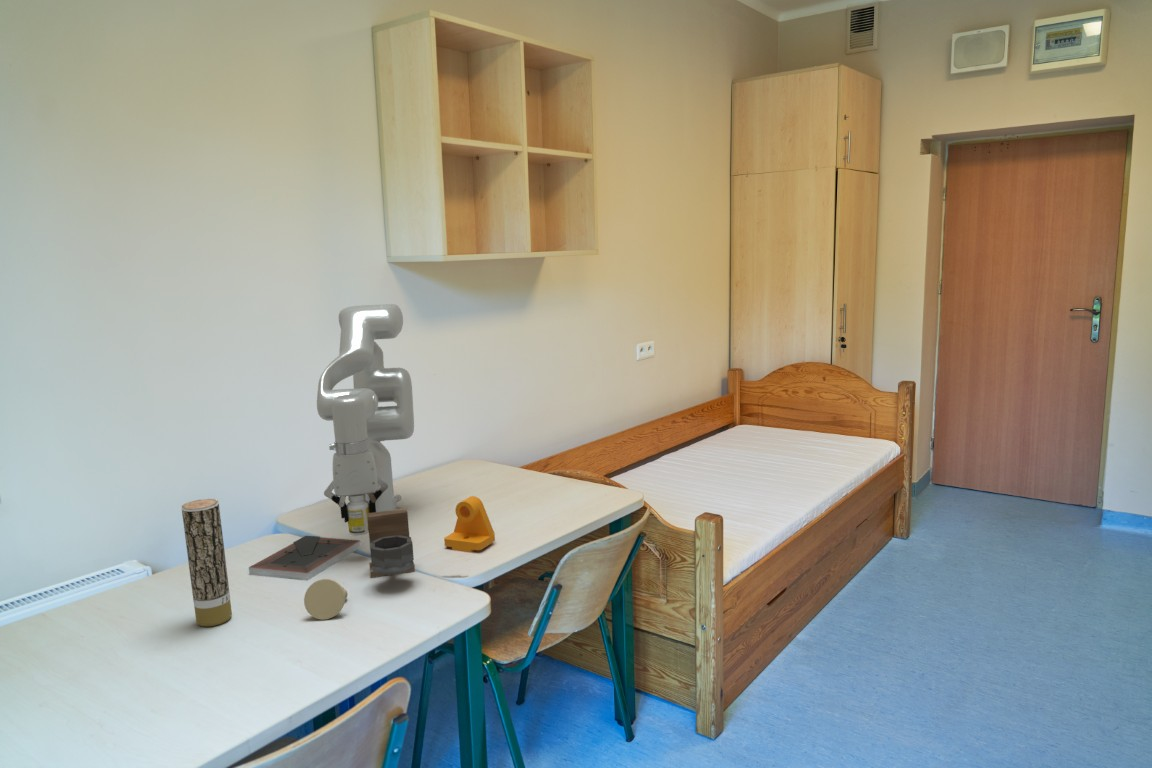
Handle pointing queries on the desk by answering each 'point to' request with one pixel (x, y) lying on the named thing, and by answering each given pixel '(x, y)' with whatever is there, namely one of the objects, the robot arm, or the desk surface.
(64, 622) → the desk surface
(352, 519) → the supplement bottle
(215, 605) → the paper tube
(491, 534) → the bracket
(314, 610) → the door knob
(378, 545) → the cup bracket
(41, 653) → the desk surface
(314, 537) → the picture frame
